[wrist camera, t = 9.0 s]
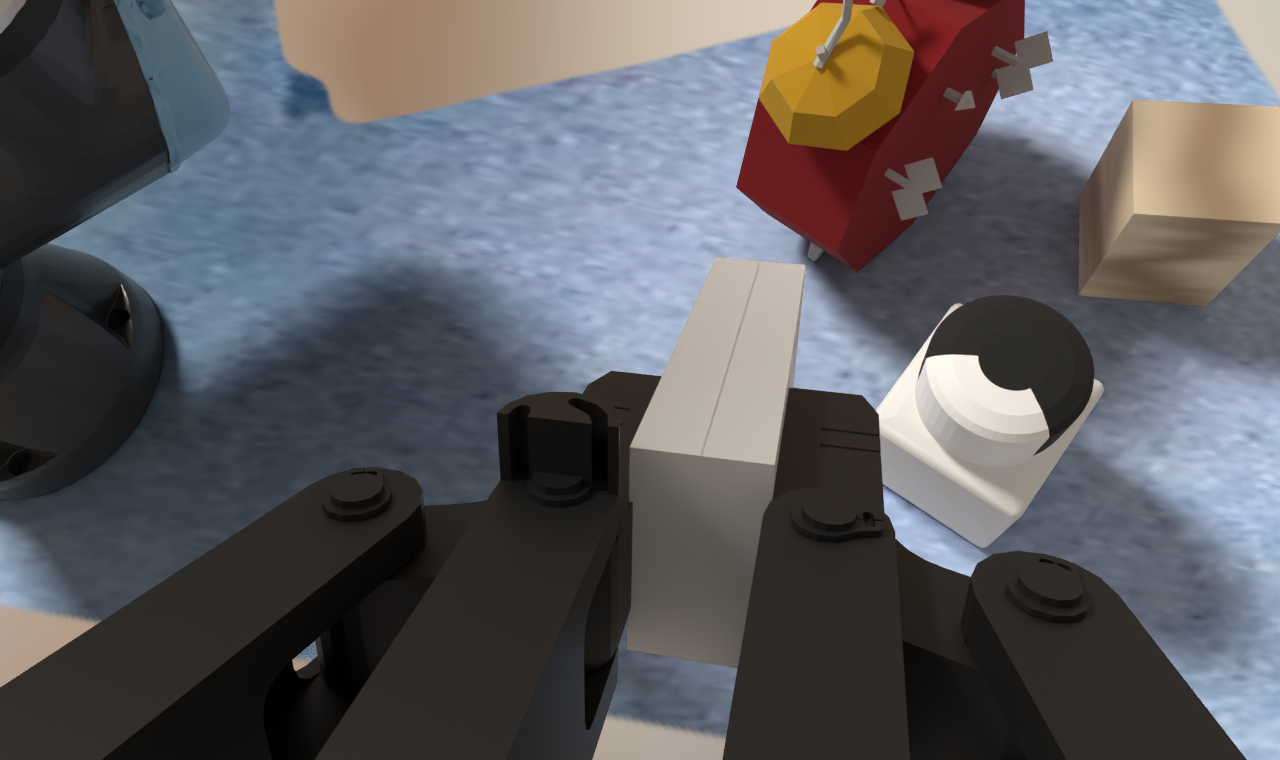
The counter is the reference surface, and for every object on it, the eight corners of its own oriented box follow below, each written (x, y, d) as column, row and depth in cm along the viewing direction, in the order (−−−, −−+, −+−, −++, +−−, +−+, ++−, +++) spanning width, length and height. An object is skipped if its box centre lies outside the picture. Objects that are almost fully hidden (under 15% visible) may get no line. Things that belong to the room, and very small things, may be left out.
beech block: (1078, 295, 46) (1133, 213, 39) (1079, 196, 48) (1132, 99, 41) (1206, 306, 45) (1288, 224, 38) (1202, 204, 47) (1279, 106, 40)
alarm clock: (900, 80, 53) (962, -270, 34) (1031, 153, 50) (1176, -189, 31) (740, 259, 50) (713, -16, 31) (868, 347, 47) (921, 100, 28)
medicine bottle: (932, 358, 46) (978, 242, 35) (1061, 435, 44) (1154, 336, 33) (854, 467, 45) (876, 381, 34) (983, 552, 42) (1052, 490, 31)
